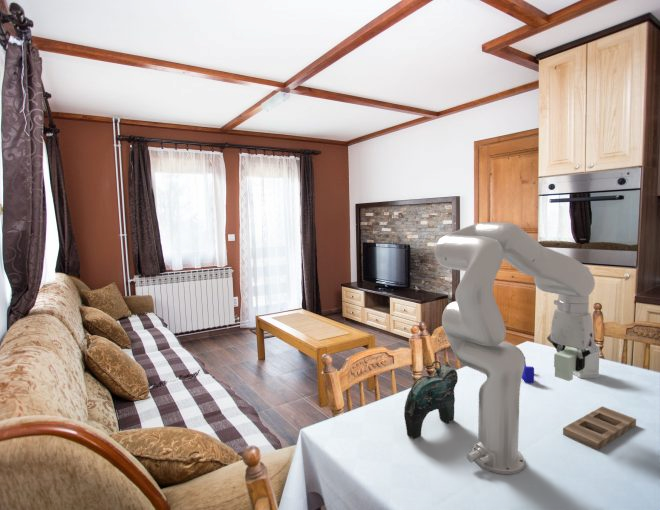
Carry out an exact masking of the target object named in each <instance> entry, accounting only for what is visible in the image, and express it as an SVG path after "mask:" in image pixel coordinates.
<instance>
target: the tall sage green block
mask: <svg viewBox="0 0 660 510" xmlns="http://www.w3.org/2000/svg"><path fill="white" fill-rule="evenodd" d="M586 350H588V349H586ZM577 357H578V353H577V348H573V347H569V346H568V347H566V349H565V350H562V351H560V352H556V353H555V352H554V356H553V360H554V361H553V363H554V364H553V367H554V377H555V378H558V379H561V380H564V381H568V382H570V381H572V380H573V379H574V377H573V376H574V374H573V371H575V372H578V373H581V374H584V373H586V369H587V362H588V356H586V357H585V367H584V368H583V369H582V370H580V371H576V370H575V369H576V358H577Z"/></svg>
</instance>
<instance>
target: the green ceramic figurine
mask: <svg viewBox="0 0 660 510" xmlns="http://www.w3.org/2000/svg"><path fill="white" fill-rule="evenodd" d="M436 363H438V364H439V365H438V366H434V365H435V364H436ZM430 367H431V368H432V367H433V368H434V372H433V375H422V376H420V377H419V378H417V379H416V380H414V381H413V384H412V385H411V388H410V390H409V391H408V394H407V398H406V399H405V404H404V412H403V413H404V415H403V416H404V423H405V427H406V435H407V436H408V437H410V438H411V439H413V440H416V439H418V438H420V437H421V436H422V428H423V423H424V421H425V419H426V416H427V415H428V414H429V413H431V412H434V411H436V410H437V411H438V415H439V416H438V417H439V420H440V421H442V422H444V423H445V424H449V423H450V422H452V421H454V420H455V401H456V397H455V387H456V386H457V383H458V372H457V370H456V369H454V368H452V367H451V366H450V363H449V362H448V361H446V362H445V365H441V362H440V361H438V360H434V361H432V362H431V365H430Z"/></svg>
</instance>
